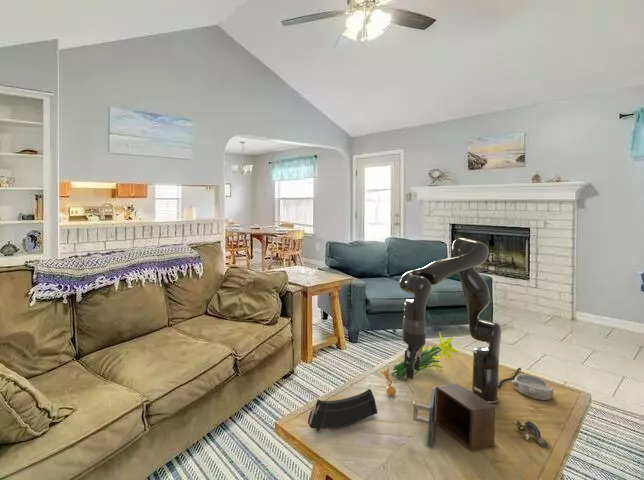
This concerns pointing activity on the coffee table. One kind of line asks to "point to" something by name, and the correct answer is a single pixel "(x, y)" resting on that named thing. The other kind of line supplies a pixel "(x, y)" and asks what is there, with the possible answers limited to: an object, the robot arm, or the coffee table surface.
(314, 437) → the coffee table surface
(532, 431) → the animal figure
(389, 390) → the figurine
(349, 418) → the magazine
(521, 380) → the dish
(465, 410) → the cupboard
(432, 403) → the cupboard door
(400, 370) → the daffodil flowers
